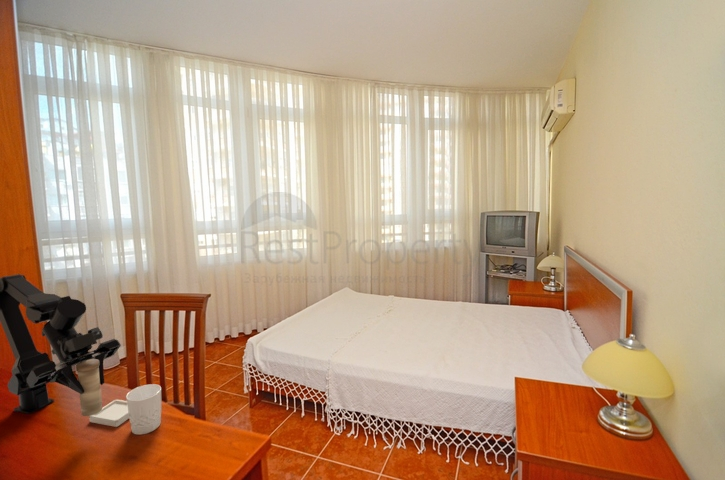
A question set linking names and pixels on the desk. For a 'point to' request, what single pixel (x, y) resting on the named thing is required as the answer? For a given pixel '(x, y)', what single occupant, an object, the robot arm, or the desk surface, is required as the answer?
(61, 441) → the desk surface
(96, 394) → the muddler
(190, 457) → the desk surface
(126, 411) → the tray
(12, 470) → the desk surface
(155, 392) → the white cup
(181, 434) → the desk surface
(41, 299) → the robot arm
